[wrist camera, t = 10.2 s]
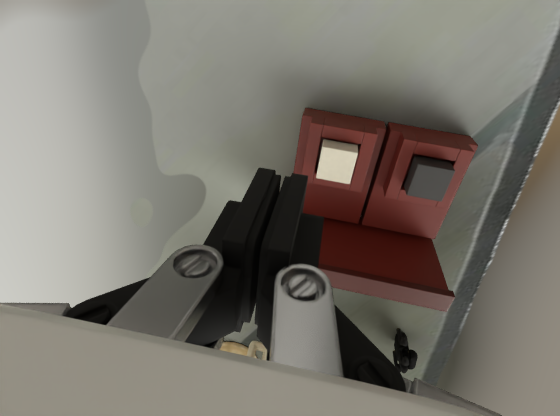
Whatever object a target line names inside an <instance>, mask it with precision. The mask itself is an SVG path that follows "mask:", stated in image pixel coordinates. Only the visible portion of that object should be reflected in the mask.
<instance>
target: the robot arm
mask: <svg viewBox="0 0 560 416" xmlns="http://www.w3.org/2000/svg"><path fill="white" fill-rule="evenodd" d="M275 174H276V173H275V170H271V169H265V168H259V169H258V170H257V172H256V174H255V176H254V178H253V180H252V182H251V184H250V186H249V188H248V190H247V192H246V194H245V196H244V198H243V200H242V202H237V201H231V200H230V201H228V202H227V204H226V206H225V207H224V209H223V211H222V213H221V214H220V216H219V218H218V220H217V221H216V223H215V225H214V227H213V228H212V230H211V232H210V234H209V235H208V237H207V239H206V241H205V242H204V244H203V245H190V246H185V247H183V248H181V249H178V250H177V251H175V252H174V253H173V254H172V255H171V256H170V257H169V258H168V259H167V260H166V261H165V262H164V263H163V264H162V265H161V266H160V268H159V269H158V270H157V271H156V272H155V273H154V274H153V275H152V276H151V277H149V278H147V279H144V280H141V281H138V282H136V283H133V284H130V285H127V286H125V287H122V288H119V289H116V290H114V291H111V292H108V293H105V294H102V295H99V296H97V297H94V298H91V299H88V300H86V301H84V302H82V303H80V304H77V305H76V306H75V307H73V308H71V307H70V305H69V303H0V416H502V415H500V414H498V413H496V412H493V411H491V410H489V409H486V408H484V407H482V406H480V405H477V404H475V403H473V402H470V401H468V400H465V399H463V398H461V397H459V396H456V395H454V394H451V393H449V392H447V391H445V390H442V389H440V388H438V387H435V386H433V385H431V384H428V383H426V382H424V381H421V380H419V379H417V378H415V379H414V381H413V382H412V381H410V380H408V379H405V378H403V377H402V375H401V374H400V372H399V371H398V370H397V368H396V367H395V366H394V365H393V364H392V363H391V362H390V361H389V360H388V359H387V358H386V357H385V356H384V354H383V353H382V352H381V351H380V350H379V349H378V348H377V347H376V346H375V345H374V344H373V343H372V342H371V341H370V340H369V339H368V338H367V337H366V336H365V335H364V334H363V333H362V332H361V331H360V330H359V329H358V328H357V327H356V326H355V325H354V324H353V323H352V322H351V321H350V320H349V319H348V318H347V317H346V316H345V315H344V314H343V313H342V312H341V311H340V310H339V309H338V308H337V307H336V306H335V305H334V300H333V292H332V285H331V282H330V279H329V278H328V277H327V275H326V274H325V273H324V272H322V271H321V270H320V269H318V265H319V256H320V248H321V240H322V232H323V224H324V217H322V216H317V215H311V214H305V213H303V208H304V201H305V195H306V188H307V182H308V176H307V175H301V174H295V173H292V175H291V177H287V176H285V178H284V181H283V184H282V187H281V190H280V181H281V175H275ZM279 191H280V193H279ZM255 304H256V311H255V324H257V325H258V328H257V337H258V338H259V339H260V341H261V342H262V344H263V345H264V346H265V348H266V349H267V354H266V360H262V359H258V358H253V357H249V356H244V355H240V354H235V353H231V352H226V351H221V350H220V348H221V346H222V344H223V341H224V336H226V335H228V334H230V333H232V332H234V331H236V332H240V331H241V328H242V325H243V322H247V323H250V320H251V317H252V314H253V311H254V307H255Z"/></svg>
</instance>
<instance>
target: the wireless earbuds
mask: <svg viewBox="0 0 560 416" xmlns="http://www.w3.org/2000/svg"><path fill="white" fill-rule="evenodd" d="M394 347H395V351H393V357H394V364H395V367H396V368H397V370H398V371H399V372H401V371H402V373H406V372H407V370H408V369H414V368H415V365H416V361H417V353H416V352H415V351H413V350H409V347H408V341H407V336H406V334H405V333H403V332H401V331H400V328H398V329H397V334H396V337H395V343H394ZM397 360H398V361H399V364H398V363H397Z"/></svg>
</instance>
